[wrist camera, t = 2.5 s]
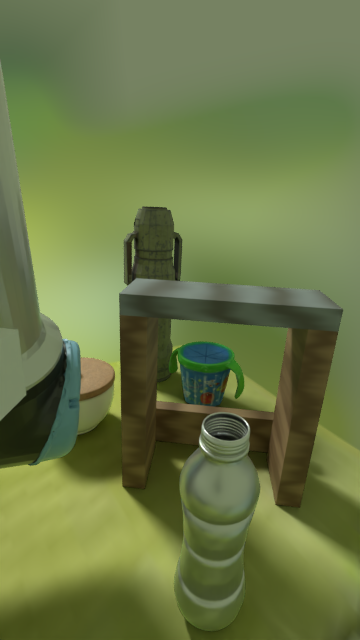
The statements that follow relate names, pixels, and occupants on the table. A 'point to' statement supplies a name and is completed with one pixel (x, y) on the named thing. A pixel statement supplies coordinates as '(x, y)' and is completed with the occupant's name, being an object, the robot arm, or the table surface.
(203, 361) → the snack cup
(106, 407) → the lidded bowl
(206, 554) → the plastic bottle
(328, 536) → the table surface
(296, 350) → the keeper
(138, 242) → the thermos
